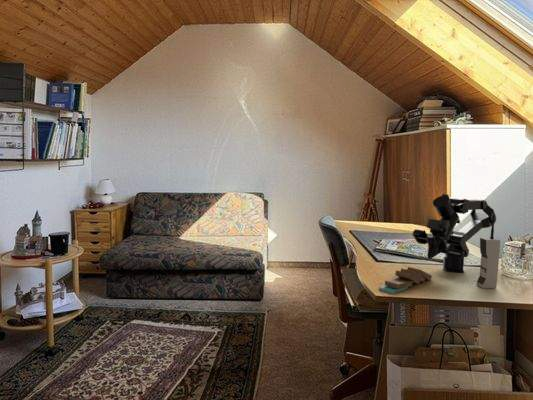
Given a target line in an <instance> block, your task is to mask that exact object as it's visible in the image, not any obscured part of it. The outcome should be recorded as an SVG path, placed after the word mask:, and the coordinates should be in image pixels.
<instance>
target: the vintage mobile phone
mask: <svg viewBox="0 0 533 400" xmlns="http://www.w3.org/2000/svg"><path fill="white" fill-rule="evenodd" d="M495 215H496V214H495ZM495 215H493V218H492V226H491V227H490V237H479V252H480V265H479V266H480V268H479V269H480V270H479V277H478V278H477V280H476V282H475V283H476V286H477V287H480V288H481V289H496V288H497V286H498V285H497V283H498V277H499V276H498V274H499V262H500V261H499V260H500V252H501V251H500V250H501V249H500V248H501V240H500V239H498V238H495V237H494V234H495V223H494V218H495Z"/></svg>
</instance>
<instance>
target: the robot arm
mask: <svg viewBox="0 0 533 400" xmlns="http://www.w3.org/2000/svg"><path fill="white" fill-rule="evenodd" d="M432 205H433V207H434V208H435V211H436V213H437V214H438V216H439V217H440V219H433V218H428V221H427V223H426V229H429V233H427V232H426V230H425V229H419V228H418V229H414V230H413V231H412V233H411V234H412V236H413V238H414V240H415V241H416V243H418V244H421V245H426V244H427V245H428V246H427V247H428V248H427V259H429V260H431V259H433V258H434V257H436V256H437V255H439V254H440V253H441V254H444V256H443V257H442V258H443V261H442V268H443V269H444V271H446V272H450V273H451V272H453V273H465V270H464V263H465V258H468V256H469V254H470V253H469V252H470V250H469V247H468V245H467V242H468V241H469V240H470V239H472V237H474V236H475V235H476V234H478V232H480V231H481V229H486V228H492V218H493V215H495V218H494V224H495V223H497V216H496V214H495V211H494V209H493V208H492V207H491V206H489V204H488V202H487V201H486V200H485V199H478V198H474V199H466V198H459V197H458V198H457V197H451V196H449V194H448V193H442V195H440V196H438V197H436V198H434V199H433V201H432ZM469 211H471V212H470V214H469V215H470V217H471V220H470V221H469V222H468V223H466V224H465V225H464V226H462V227H461V228H460V229H459V230H458V231H457V230H456V231H455V230H454V229H455V227H456V225H457V224H460V223H461V220H460V216H459V214H462V215H465V214H467V213H469Z"/></svg>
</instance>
